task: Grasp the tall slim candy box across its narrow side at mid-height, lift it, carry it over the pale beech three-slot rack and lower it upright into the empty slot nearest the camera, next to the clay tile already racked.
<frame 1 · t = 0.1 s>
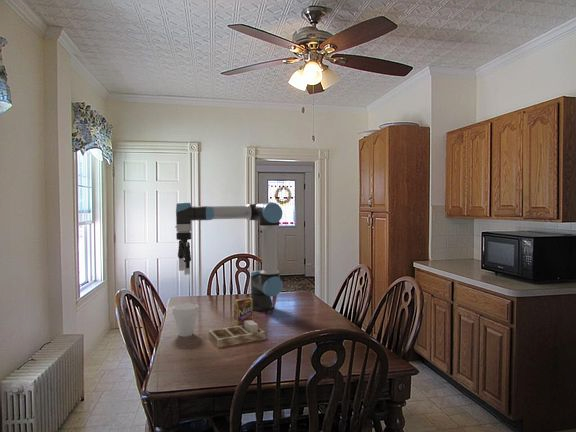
hand: (184, 272, 203), 28 cm above the table, fingers open, 13 cm apart
candy box: (243, 328, 198), on the table
cup: (185, 334, 190), on the table
rack: (236, 340, 181), on the table
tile: (251, 335, 184), point 1 cm above the table, touching rack
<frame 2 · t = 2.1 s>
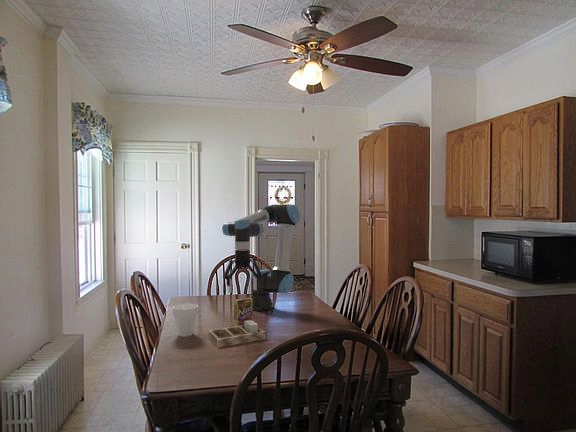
hand: (242, 291, 198), 19 cm above the table, fingers open, 13 cm apart
nothing on the table moved.
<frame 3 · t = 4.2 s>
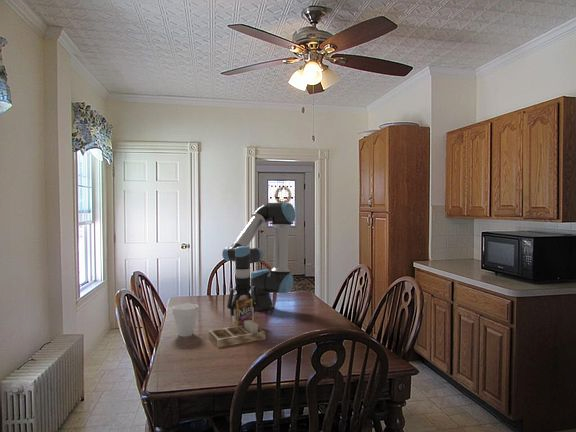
hand: (243, 320, 198), 4 cm above the table, fingers closed on candy box, 9 cm apart
candy box: (243, 328, 198), on the table, touching gripper
everything else where it was.
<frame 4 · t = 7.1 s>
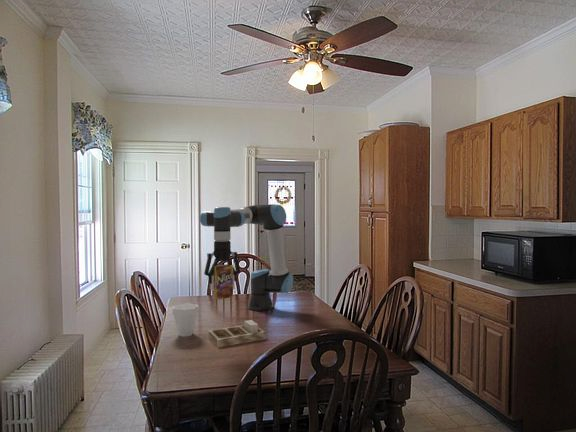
hand: (222, 289, 178), 24 cm above the table, fingers closed on candy box, 9 cm apart
candy box: (222, 298, 178), point 20 cm above the table, touching gripper
everything else where it was.
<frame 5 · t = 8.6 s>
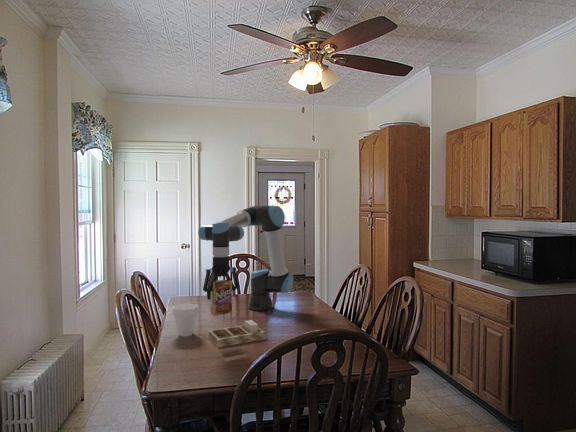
hand: (221, 305, 177), 17 cm above the table, fingers closed on candy box, 9 cm apart
candy box: (221, 314, 177), point 13 cm above the table, touching gripper
everything else where it was.
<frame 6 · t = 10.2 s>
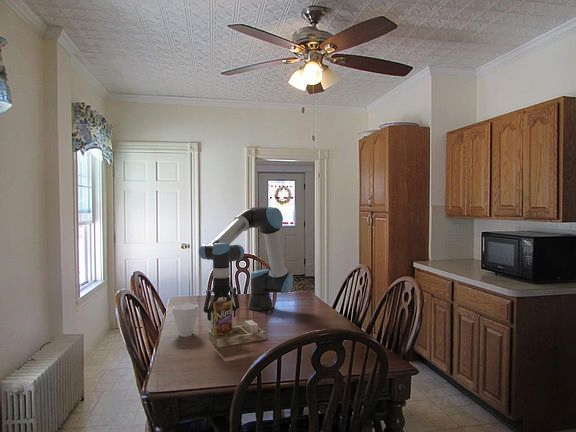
hand: (221, 325, 177), 8 cm above the table, fingers closed on candy box, 9 cm apart
candy box: (221, 334, 177), point 4 cm above the table, touching gripper, rack
everything else where it was.
when the fingers open (7 cm above the table, at t = 11.3 s): candy box stays where it is, resting on rack.
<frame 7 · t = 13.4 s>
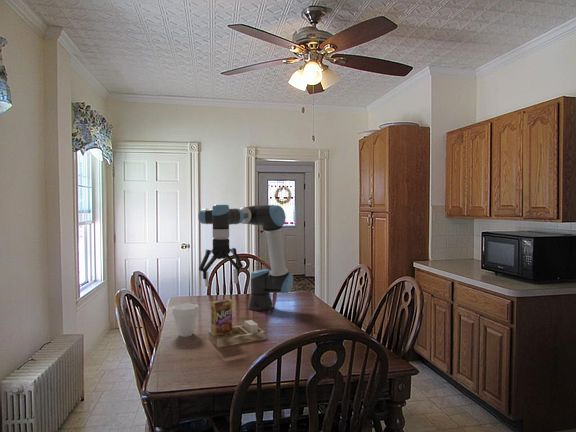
hand: (221, 284, 177), 27 cm above the table, fingers open, 13 cm apart
candy box: (221, 334, 177), point 4 cm above the table, touching rack
everything else where it was.
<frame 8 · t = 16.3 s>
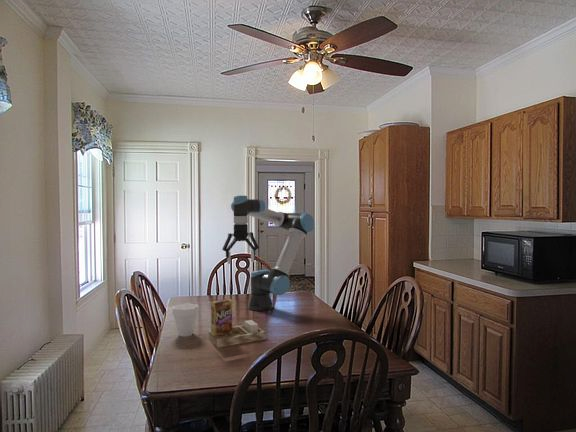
hand: (241, 262, 211), 32 cm above the table, fingers open, 13 cm apart
nothing on the table moved.
at the end: candy box 0.0 cm from the target spot on the rack, point 4.0 cm above the rack's base; candy box tilted 0°; the gripper is holding nothing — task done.
